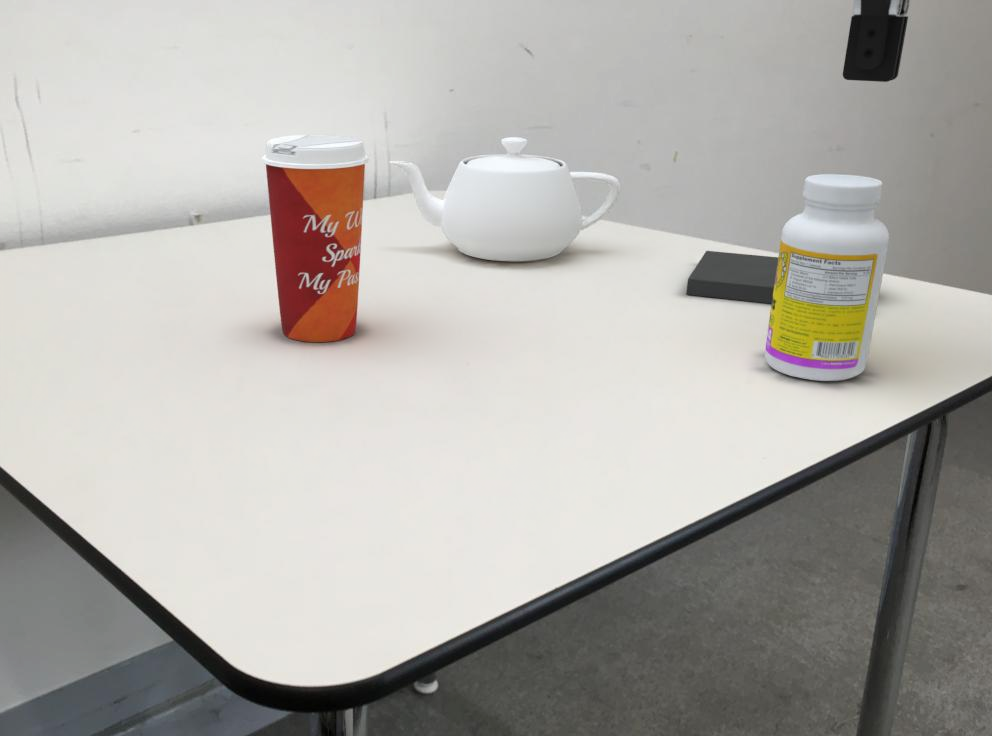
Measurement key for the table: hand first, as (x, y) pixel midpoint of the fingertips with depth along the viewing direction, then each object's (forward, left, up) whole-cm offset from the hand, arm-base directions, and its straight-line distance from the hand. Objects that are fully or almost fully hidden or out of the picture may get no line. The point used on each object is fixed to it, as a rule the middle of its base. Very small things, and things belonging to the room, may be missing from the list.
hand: (869, 79), depth 74 cm
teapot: (+30, -17, -19) cm, 40 cm away
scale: (+4, -14, -19) cm, 24 cm away
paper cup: (+35, +13, -19) cm, 42 cm away
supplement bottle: (0, +7, -19) cm, 20 cm away
